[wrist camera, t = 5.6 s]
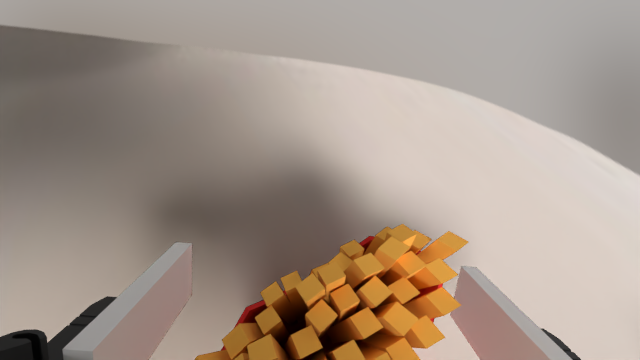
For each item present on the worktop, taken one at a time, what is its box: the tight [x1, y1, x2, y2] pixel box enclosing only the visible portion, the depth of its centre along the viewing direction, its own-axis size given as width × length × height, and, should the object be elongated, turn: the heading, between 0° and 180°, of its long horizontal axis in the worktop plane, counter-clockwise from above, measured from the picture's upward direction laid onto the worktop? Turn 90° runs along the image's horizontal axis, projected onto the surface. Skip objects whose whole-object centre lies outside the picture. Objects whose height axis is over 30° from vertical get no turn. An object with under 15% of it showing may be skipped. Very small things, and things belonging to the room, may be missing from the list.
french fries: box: [195, 224, 468, 360], centre depth 12 cm, size 8×4×12 cm, turn 121°
